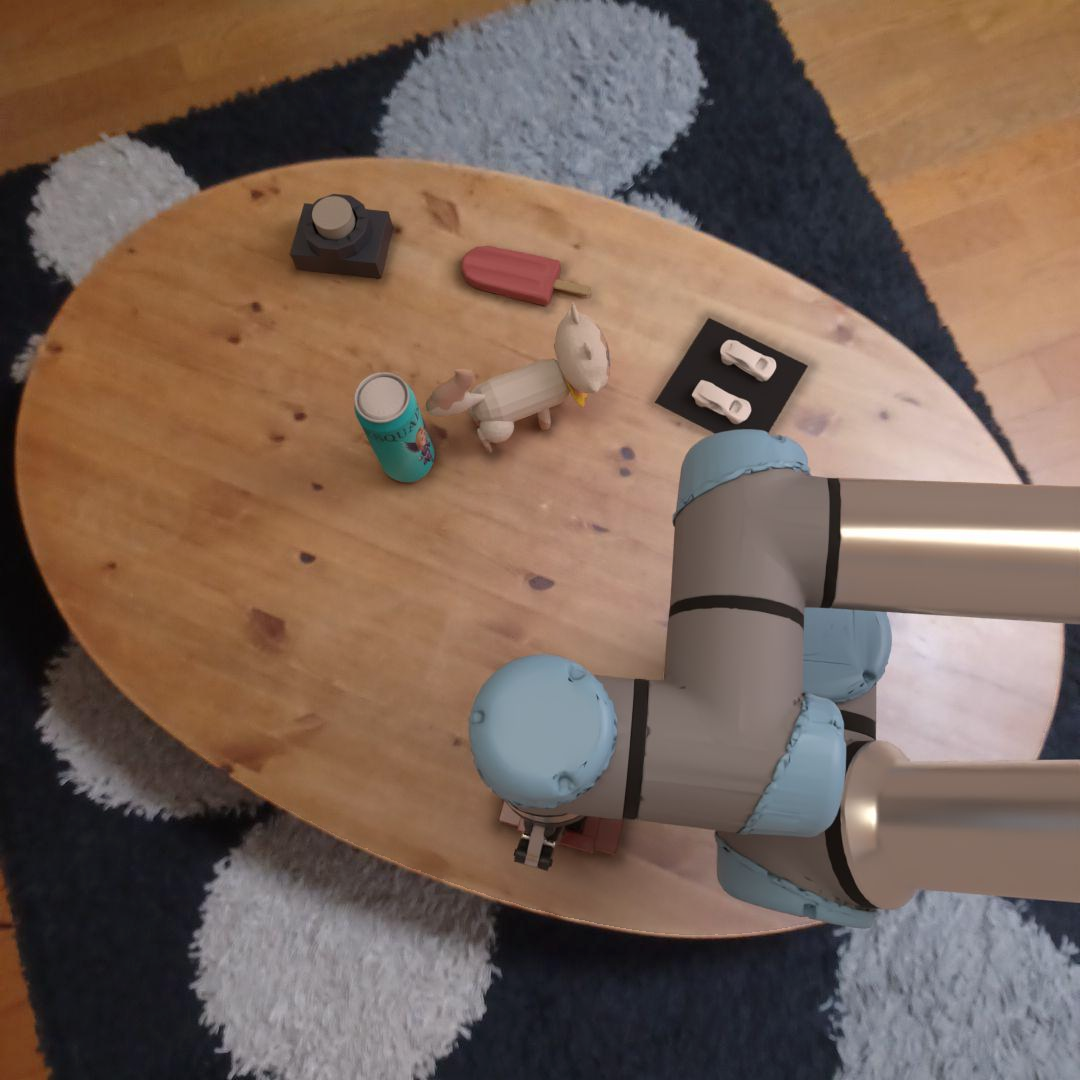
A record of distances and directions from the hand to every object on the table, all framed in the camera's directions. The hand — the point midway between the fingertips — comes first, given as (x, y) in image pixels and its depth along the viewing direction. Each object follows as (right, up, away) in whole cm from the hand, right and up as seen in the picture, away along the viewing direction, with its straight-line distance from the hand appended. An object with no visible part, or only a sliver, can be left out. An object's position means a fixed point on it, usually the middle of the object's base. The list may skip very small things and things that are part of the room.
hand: (561, 797), depth 86 cm
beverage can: (-16, +30, +21) cm, 40 cm away
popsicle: (-3, +51, +28) cm, 58 cm away
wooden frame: (+1, -3, +8) cm, 8 cm away
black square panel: (0, -2, +4) cm, 5 cm away
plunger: (-25, +57, +26) cm, 67 cm away
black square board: (+19, +39, +22) cm, 48 cm away
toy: (-3, +35, +22) cm, 41 cm away
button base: (-24, +56, +30) cm, 68 cm away
